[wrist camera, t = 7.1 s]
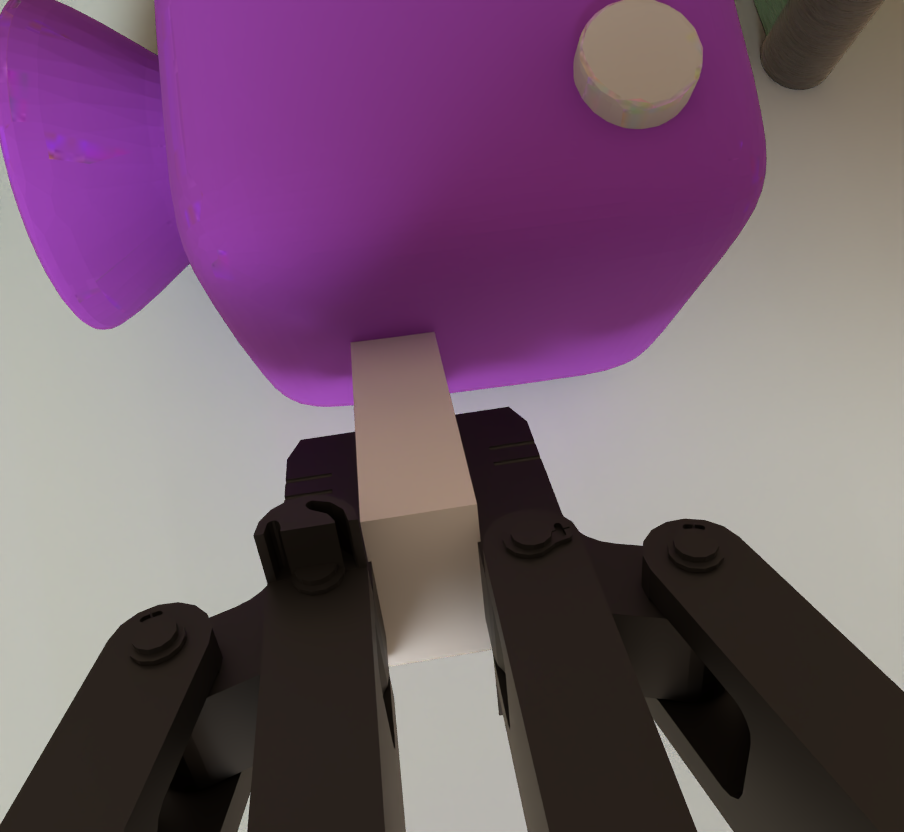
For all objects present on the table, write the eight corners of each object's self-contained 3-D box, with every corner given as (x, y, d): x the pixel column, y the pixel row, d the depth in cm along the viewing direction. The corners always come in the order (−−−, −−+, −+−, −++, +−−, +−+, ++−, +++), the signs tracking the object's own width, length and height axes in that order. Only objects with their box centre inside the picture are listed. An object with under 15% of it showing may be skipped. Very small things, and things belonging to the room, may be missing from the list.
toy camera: (72, 142, 22) (-214, -233, 12) (553, 4, 23) (638, -433, 14) (176, 529, 20) (-77, 444, 10) (704, 352, 21) (937, 125, 11)
